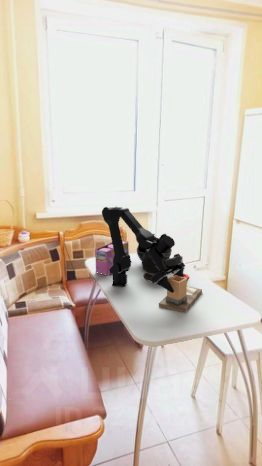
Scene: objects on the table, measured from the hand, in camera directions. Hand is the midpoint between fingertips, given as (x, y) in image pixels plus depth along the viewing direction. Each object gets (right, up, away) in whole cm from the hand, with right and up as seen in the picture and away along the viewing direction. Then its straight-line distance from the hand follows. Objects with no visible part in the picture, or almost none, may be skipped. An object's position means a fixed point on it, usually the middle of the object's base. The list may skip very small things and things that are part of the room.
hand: (179, 288), depth 141 cm
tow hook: (+6, 0, +33) cm, 34 cm away
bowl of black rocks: (-7, +5, +51) cm, 52 cm away
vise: (0, -6, +3) cm, 7 cm away
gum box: (-31, +4, +47) cm, 56 cm away
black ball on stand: (-9, 0, +34) cm, 35 cm away
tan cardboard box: (-1, -3, +2) cm, 4 cm away
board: (+2, -6, +8) cm, 10 cm away
